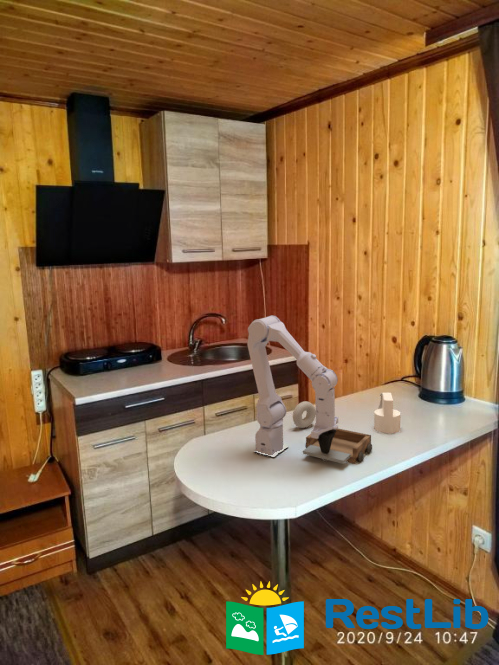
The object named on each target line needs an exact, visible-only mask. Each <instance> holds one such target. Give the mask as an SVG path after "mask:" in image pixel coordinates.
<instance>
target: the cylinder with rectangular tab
mask: <svg viewBox="0 0 499 665" xmlns="http://www.w3.org/2000/svg"><path fill="white" fill-rule="evenodd" d="M381 393H382V409H378V408H377V409H375V410H374V412H373V414H374V415H373V416H374V417H373V419H374V421H373V425H374V427H373V428H374V430H375V431H377V432H378V433H382V434H395V433H398V432H400V431H401V411H399V410H397V409H394V399H393V396H392V392H381Z"/></svg>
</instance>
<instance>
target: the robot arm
mask: <svg viewBox="0 0 499 665" xmlns="http://www.w3.org/2000/svg"><path fill="white" fill-rule="evenodd" d="M247 332H248V337H247V349H248V354H249V358H250V361H251V362H250V364H251V367H252V372H253V375H254V380H255V383H256V388H257V392H258V396H259V398H258V400H257V403H256V405H255V406H256V407H255V408H256V413H255V415H256V418H255V419H256V421H257V423H258V424H259V429H258V430H257V431H256V433H255V436H254V437H255V440H254V441H255V450H256V451H258V452H261V453H265V454H268V455H273V454H274V453H275V452H277V451H280V450H282V449H283V445H284V418H285V417H286V415H287V407H286V405H285V404H284V402H283V400H282V396H280V395H279V394H277V392H276V387H275V383H274V380H273V376H272V375H273V374H272V370H271V366H270V362H269V357H268V354H267V349H266V346H267V345H268V344H269V342H277V343H279V344H280V345H281V346H282V347H283V348H284V349H285V351H287V352H289V354H290V355H291V356H292V357H294V358H295V359H296V366H297V367H298V368H299V369H300V370H301V371H302V372H303V374H305V375H306V377H307V378H308V379H309V380H310V381H311V386H312V389H313V390H314V394H315V396H314V397H315V399H314V400H315V411H316V415H315V423H314V424H313V425H314V426H313V428H312V430H311V431H310V434H311V438H316V439H317V440H318V442H319V445H320V449H321V452H322V453H326V454H328V453H329V451H330V447H331V443H332V440H333V437H334V435H335V433H336V429H337V428H338V429H339V425H338V424H339V416H336V415H335V410H336V409H335V407H336V406H335V405H336V403H335V402H336V398H335V394H336V392H335V390H336V389H335V387H336V385H338V381H339V380H338V379H339V378H338V375H337V374H336V373H335V371H334V370H332V369H331V368H328V367H326V366H325V365H323V364H322V363H321V361H320V360H318V359H317V355H316V354H315V353H312V352H311V351H305V350H304V349H303V348H302V346H300V344H299V343H298V342H297V341H296V339H295V338H294V337H293V336H292V334H290V332H289V331H288V329H287V328H286V326H285V323H284V322H282V321H281V320H280V318H279V317H277V315H268V316H266V317H262V318H259V319H258V318H257V319H254V320H253V321H252V322H251V323H250V324H249V326H248V327H247Z"/></svg>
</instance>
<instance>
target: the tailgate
mask: <svg viewBox="0 0 499 665" xmlns="http://www.w3.org/2000/svg"><path fill="white" fill-rule="evenodd" d="M302 453H303V455H307V456H310V457H314V458H317V459H321V460H322V461H325V462H326V461H330V462H334V463H339V464H343V465H344V464H345V463H347V462H346V461H347V460H348V459H349V458H350V454H348V453H343V452H339V451H335V450H331V449H330V451H329V453H328V454H326V453H322V452H321V449H320V447H318V446H314V445H310V446H308V447H307V448H306V447H305V449H304V450H302Z"/></svg>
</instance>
